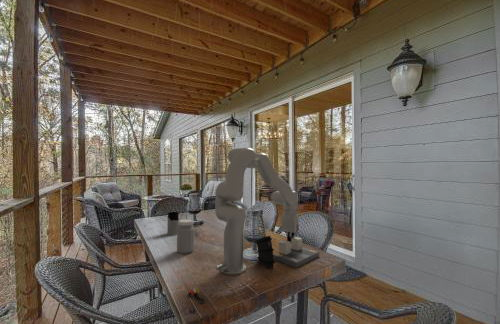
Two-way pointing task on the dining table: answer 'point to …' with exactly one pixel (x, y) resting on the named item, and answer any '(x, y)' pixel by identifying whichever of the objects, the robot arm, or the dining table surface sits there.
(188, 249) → the jar
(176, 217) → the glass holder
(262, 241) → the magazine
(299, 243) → the beige cylinder
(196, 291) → the composite cable
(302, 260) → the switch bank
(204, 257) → the dining table surface
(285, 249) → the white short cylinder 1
